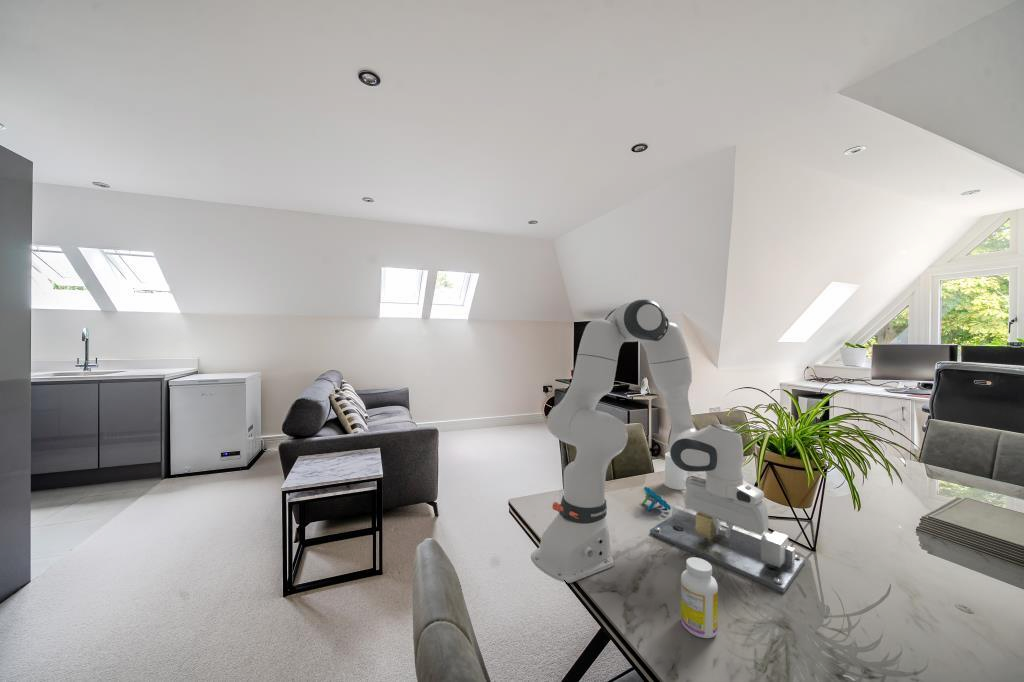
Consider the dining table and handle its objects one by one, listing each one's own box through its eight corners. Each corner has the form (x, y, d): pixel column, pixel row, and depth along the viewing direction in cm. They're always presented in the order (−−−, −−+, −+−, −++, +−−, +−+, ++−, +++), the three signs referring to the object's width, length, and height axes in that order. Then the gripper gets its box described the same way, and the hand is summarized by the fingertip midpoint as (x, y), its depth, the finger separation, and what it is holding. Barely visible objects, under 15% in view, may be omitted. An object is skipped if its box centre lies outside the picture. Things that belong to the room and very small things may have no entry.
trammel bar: (784, 577, 89) (785, 546, 88) (661, 525, 112) (662, 501, 112) (795, 563, 94) (795, 534, 94) (675, 516, 118) (675, 494, 118)
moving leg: (710, 544, 102) (710, 518, 102) (695, 538, 105) (695, 512, 105) (723, 534, 107) (723, 509, 107) (708, 528, 110) (708, 504, 110)
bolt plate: (783, 593, 85) (783, 585, 85) (650, 533, 110) (650, 527, 110) (804, 562, 96) (804, 556, 96) (679, 515, 122) (679, 509, 121)
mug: (698, 492, 139) (699, 460, 139) (679, 494, 137) (679, 462, 137) (678, 480, 151) (678, 451, 151) (659, 482, 149) (659, 452, 149)
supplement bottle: (705, 614, 78) (706, 553, 78) (724, 639, 72) (725, 574, 71) (674, 614, 78) (675, 554, 78) (690, 640, 71) (691, 574, 71)
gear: (678, 510, 121) (656, 489, 121) (667, 525, 120) (645, 504, 120) (659, 500, 132) (639, 481, 132) (649, 513, 131) (629, 494, 130)
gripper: (680, 476, 107) (679, 524, 107) (762, 501, 91) (761, 557, 91) (690, 471, 111) (690, 517, 111) (771, 494, 95) (770, 547, 95)
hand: (723, 535), depth 101 cm, fingers closed
